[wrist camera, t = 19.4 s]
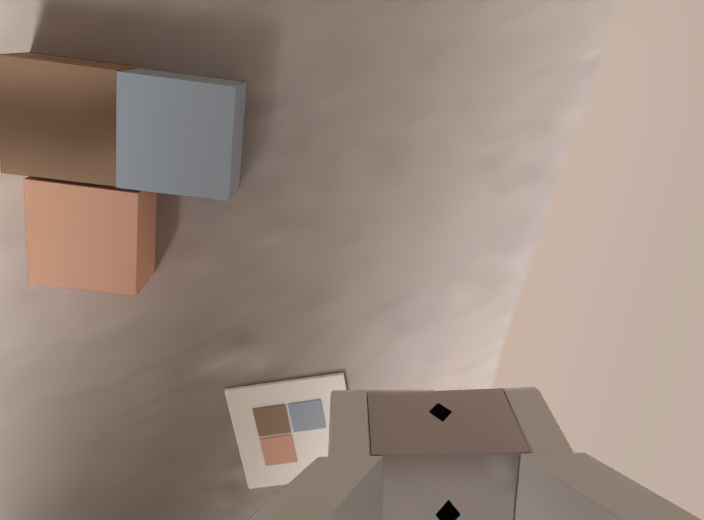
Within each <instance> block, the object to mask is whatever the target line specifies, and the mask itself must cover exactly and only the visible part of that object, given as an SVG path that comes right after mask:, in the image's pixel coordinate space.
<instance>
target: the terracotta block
mask: <svg viewBox="0 0 704 520" xmlns="http://www.w3.org/2000/svg"><path fill="white" fill-rule="evenodd" d="M24 198H25V224H26V250H27V277H28V283H29V284H38V285H46V286H55V287H63V288H71V289H80V290H88V291H97V292H105V293H114V294H122V295H130V296H136V295H137V294H138V292H139V291H140V290H141V289H142V287H143V286H144V285H145V284H146V282H147V281H148V280H149V279H150V277H151V276H152V275H153V274H154V272H155V244H156V215H157V193H156V192H148V191H140V190H131V189H123V188H116V187H115V186H107V185H98V184H90V183H82V182H74V181H65V180H57V179H49V178H40V177H32V176H29V177H27V178H25V179H24Z"/></svg>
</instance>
